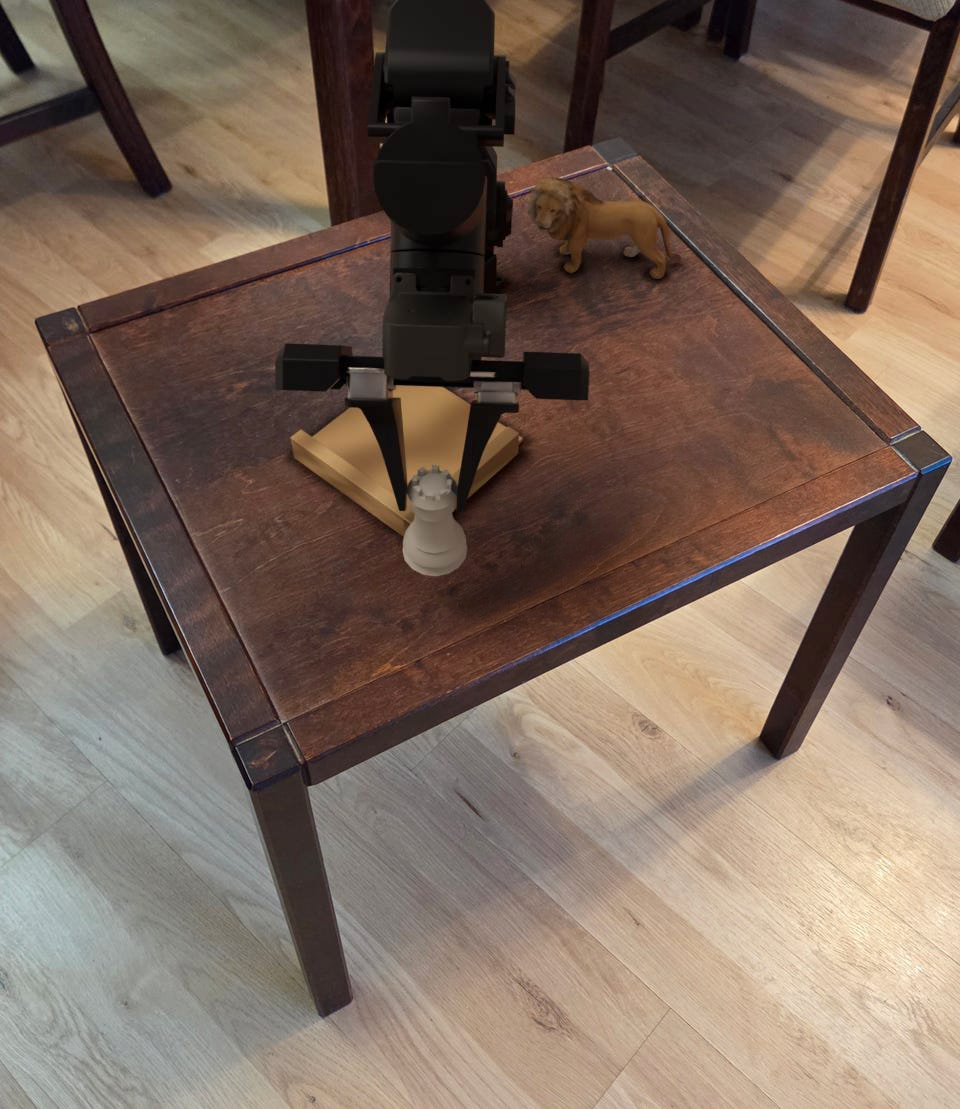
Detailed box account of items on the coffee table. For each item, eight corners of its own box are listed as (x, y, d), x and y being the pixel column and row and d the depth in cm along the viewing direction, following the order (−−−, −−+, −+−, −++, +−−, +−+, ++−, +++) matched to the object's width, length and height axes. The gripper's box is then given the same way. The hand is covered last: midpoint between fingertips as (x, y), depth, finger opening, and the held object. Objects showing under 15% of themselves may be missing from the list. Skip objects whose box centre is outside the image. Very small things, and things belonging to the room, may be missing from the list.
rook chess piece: (476, 537, 74) (477, 463, 67) (454, 587, 71) (453, 516, 65) (416, 519, 74) (412, 445, 68) (392, 569, 72) (385, 497, 65)
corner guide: (291, 456, 85) (287, 435, 83) (406, 366, 91) (405, 345, 89) (415, 545, 80) (414, 525, 78) (528, 444, 86) (530, 423, 84)
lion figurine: (526, 283, 98) (531, 199, 90) (523, 246, 101) (527, 163, 93) (684, 280, 98) (701, 197, 91) (675, 244, 101) (692, 160, 94)
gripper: (253, 234, 56) (254, 525, 59) (604, 246, 56) (589, 537, 59) (293, 256, 67) (293, 500, 70) (587, 265, 67) (575, 510, 69)
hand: (430, 511), depth 67 cm, fingers closed on rook chess piece, 3 cm apart
